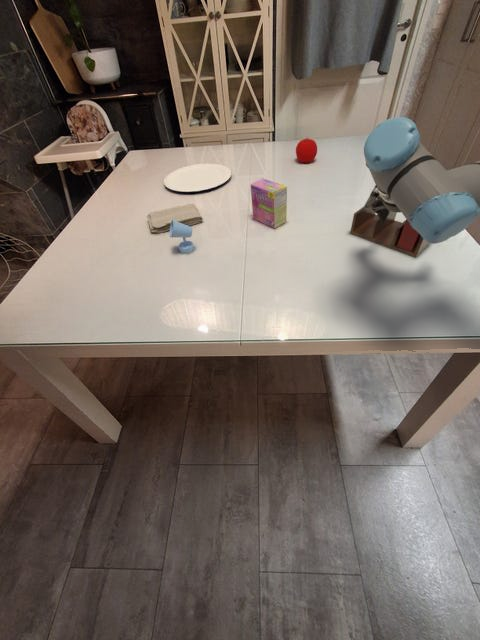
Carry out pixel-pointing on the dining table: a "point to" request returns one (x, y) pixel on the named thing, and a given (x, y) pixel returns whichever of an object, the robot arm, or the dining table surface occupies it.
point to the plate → (197, 177)
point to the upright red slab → (408, 237)
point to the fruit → (306, 150)
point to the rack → (382, 230)
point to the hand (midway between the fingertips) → (411, 225)
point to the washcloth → (173, 217)
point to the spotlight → (182, 231)
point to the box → (269, 202)
